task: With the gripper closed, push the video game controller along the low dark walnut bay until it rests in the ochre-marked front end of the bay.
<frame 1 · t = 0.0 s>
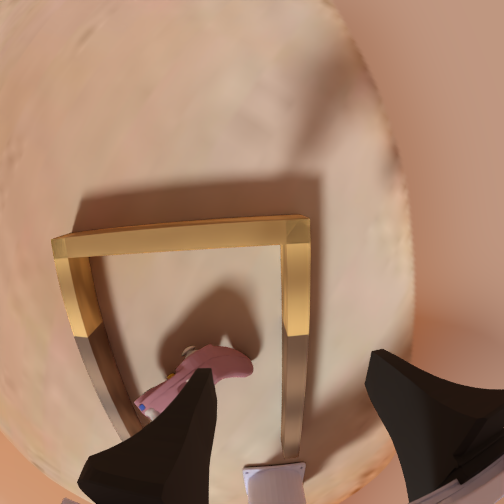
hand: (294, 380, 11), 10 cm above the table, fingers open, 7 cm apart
video game controller: (195, 369, 22), on the table
bay: (193, 366, 22), on the table
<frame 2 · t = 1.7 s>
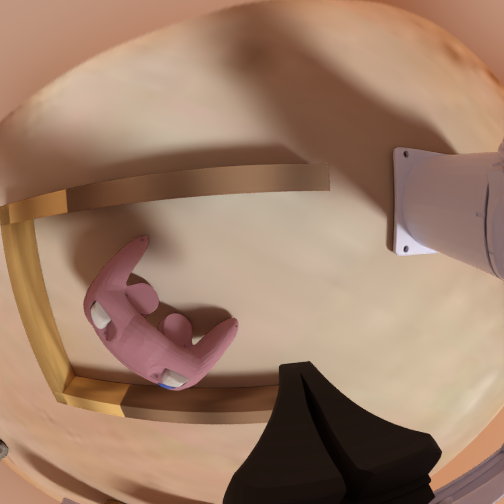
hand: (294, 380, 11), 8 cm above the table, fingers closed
video game controller: (169, 302, 19), on the table
bay: (158, 308, 19), on the table
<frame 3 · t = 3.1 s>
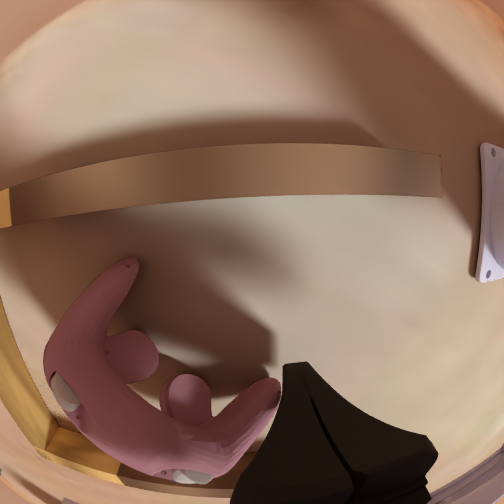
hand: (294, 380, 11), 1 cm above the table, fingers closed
video game controller: (174, 354, 12), on the table, touching gripper
bay: (159, 365, 12), on the table
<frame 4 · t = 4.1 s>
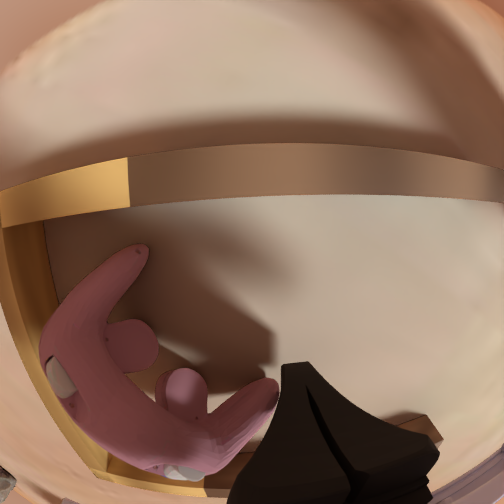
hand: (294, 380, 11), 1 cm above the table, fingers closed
video game controller: (173, 347, 12), on the table, touching gripper
bay: (276, 363, 12), on the table
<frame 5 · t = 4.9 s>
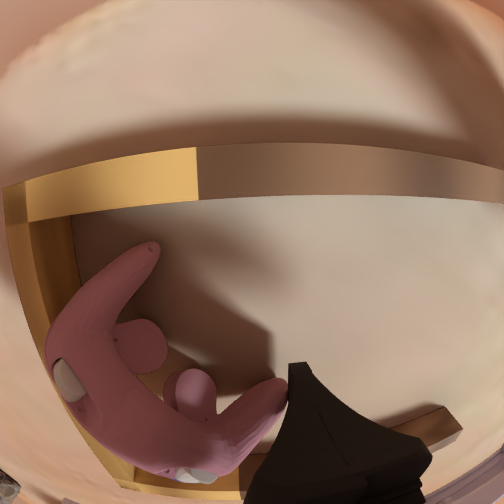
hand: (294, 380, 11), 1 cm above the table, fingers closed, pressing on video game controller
video game controller: (181, 347, 12), on the table, touching bay, gripper
bay: (319, 359, 12), on the table
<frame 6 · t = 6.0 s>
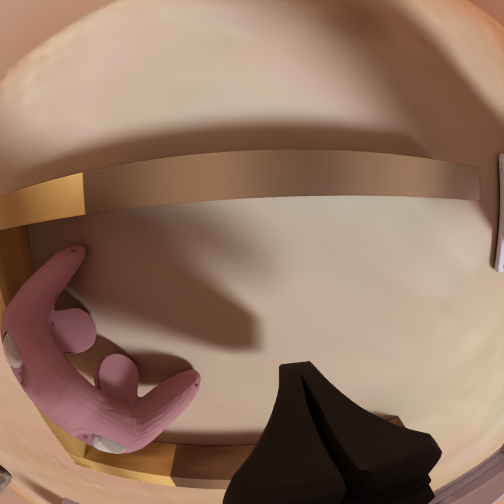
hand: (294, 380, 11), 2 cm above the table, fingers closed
video game controller: (112, 335, 13), on the table
bay: (230, 357, 13), on the table
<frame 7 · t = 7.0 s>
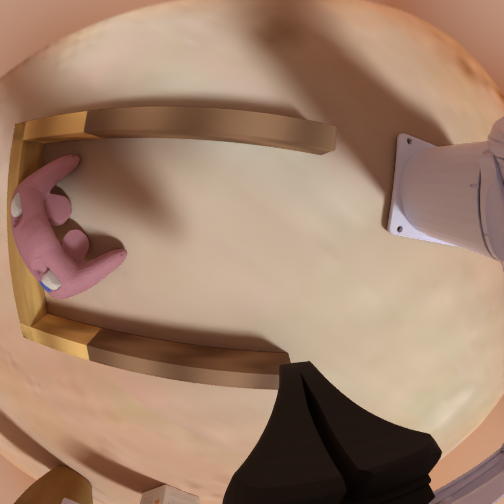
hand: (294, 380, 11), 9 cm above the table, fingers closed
video game controller: (80, 221, 18), on the table
bay: (147, 245, 19), on the table
plant pot: (73, 475, 28), on the table
small box: (170, 494, 28), on the table
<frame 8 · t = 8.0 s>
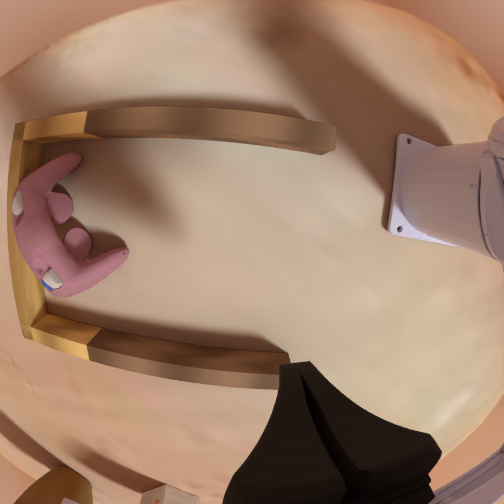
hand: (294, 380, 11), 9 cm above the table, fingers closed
video game controller: (82, 219, 18), on the table
bay: (147, 245, 19), on the table
plant pot: (73, 475, 28), on the table
small box: (170, 494, 28), on the table
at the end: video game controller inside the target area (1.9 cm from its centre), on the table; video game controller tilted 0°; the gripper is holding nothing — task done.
